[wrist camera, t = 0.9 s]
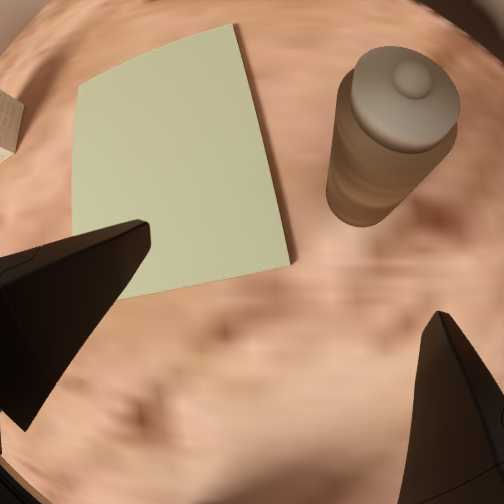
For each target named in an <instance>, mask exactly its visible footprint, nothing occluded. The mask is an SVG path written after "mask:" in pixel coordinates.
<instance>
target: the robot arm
mask: <svg viewBox="0 0 504 504" xmlns="http://www.w3.org/2000/svg"><path fill="white" fill-rule="evenodd" d="M150 248H151V231H150V224H149V223H148V222H147V221H143V220H140V219H135V220H131V221H127V222H124V223H120V224H116V225H112V226H108V227H105V228H101V229H97V230H94V231H90V232H86V233H83V234H79V235H76V236H72V237H69V238H65V239H62V240H58V241H55V242H52V243H48V244H45V245H42V247H41V246H38V247H35V248H32V249H29V250H25V251H22V252H19V253H15V254H11V255H7V256H4V257H0V413H1V412H2V411H3V412H4V413H5V414H6V415H7V416H8V417H9V418H10V419H11V420H12V421H13V422H15V423H16V424H17V425H18V426H19V427H20V428H21V429H22V430H23V431H24V432H26V431H27V429H28V428H29V426H30V425H31V423H32V421H33V420H34V418H35V417H36V415H37V413H38V412H39V410H40V409H41V407H42V405H43V404H44V402H45V401H46V399H47V398H48V396H49V394H50V393H51V391H52V390H53V388H54V387H55V385H56V383H57V382H58V381H59V379H60V378H61V376H62V375H63V373H64V372H65V370H66V369H67V367H68V366H69V364H70V363H71V361H72V360H73V359H74V357H75V356H76V354H77V353H78V351H79V350H80V349H81V347H82V346H83V344H84V343H85V342H86V340H87V339H88V337H89V336H90V335H91V333H92V332H93V330H94V329H95V328H96V326H97V325H98V324H99V322H100V321H101V320H102V318H103V317H104V316H105V314H106V313H107V312H108V310H109V309H110V308H111V306H112V305H113V304H114V302H115V301H116V300H117V298H118V297H119V296H120V295H121V293H122V292H123V291H124V289H125V288H126V287H127V285H128V284H129V282H130V281H131V279H132V278H133V276H134V274H135V273H136V271H137V270H138V268H139V266H140V265H141V263H142V262H143V260H144V259H145V257H146V256H147V254H148V253H149V251H150ZM1 454H2V447H1V432H0V504H52V503H51V502H50V501H49V500H48V499H46V498H45V497H44V496H43V495H42V494H40V493H39V492H38V491H37V490H36V489H35V488H34V487H32V486H31V485H30V484H29V483H28V482H27V481H26V480H25V479H24V478H23V477H22V476H20V475H19V474H18V473H17V472H16V471H15V470H14V469H13V468H12V467H11V466H10V465H9V464H8V463H7V462H6V461H5V460H4V458H3V457H2V456H1ZM397 504H504V394H503V393H502V391H501V389H500V388H499V386H498V384H497V383H496V381H495V380H494V378H493V376H492V375H491V373H490V372H489V370H488V369H487V367H486V366H485V364H484V362H483V361H482V359H481V358H480V356H479V355H478V353H477V352H476V351H475V349H474V348H473V346H472V345H471V343H470V342H469V340H468V339H467V338H466V336H465V335H464V333H463V332H462V331H461V329H460V328H459V326H458V325H457V324H456V322H455V321H454V320H453V318H452V317H451V316H450V314H448V313H445V312H442V311H436V312H435V313H434V315H433V316H432V318H431V319H430V321H429V323H428V324H427V326H426V327H425V329H424V330H423V333H422V336H421V344H420V352H419V359H418V366H417V372H416V379H415V388H414V401H413V412H412V422H411V430H410V438H409V445H408V452H407V458H406V464H405V470H404V475H403V480H402V485H401V490H400V494H399V499H398V503H397Z"/></svg>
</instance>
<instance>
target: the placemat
mask: <svg viewBox="0 0 504 504" xmlns="http://www.w3.org/2000/svg"><path fill="white" fill-rule="evenodd" d="M135 219H140V220H143V221H147V222H148V223H149V224H150V231H151V248H150V251H149V253H148V254H147V256H146V257H145V259H144V260H143V262H142V263H141V265H140V266H139V268H138V270H137V271H136V273H135V274H134V276H133V278H132V279H131V281H130V282H129V284H128V285H127V287H126V288H125V289H124V291H123V292H122V293H121V295H120V296H119V297H118V298H117V300H121V299H127V298H132V297H137V296H143V295H148V294H153V293H159V292H164V291H169V290H174V289H179V288H184V287H190V286H195V285H200V284H205V283H210V282H215V281H220V280H225V279H230V278H235V277H239V276H244V275H249V274H254V273H259V272H264V271H268V270H273V269H278V268H283V267H287V266H291V264H290V259H289V254H288V249H287V244H286V240H285V235H284V230H283V226H282V221H281V217H280V212H279V208H278V203H277V199H276V194H275V190H274V185H273V181H272V177H271V172H270V168H269V164H268V160H267V155H266V151H265V147H264V143H263V139H262V135H261V131H260V127H259V123H258V119H257V115H256V111H255V107H254V103H253V99H252V95H251V91H250V87H249V83H248V79H247V76H246V72H245V68H244V64H243V61H242V57H241V53H240V50H239V46H238V42H237V39H236V35H235V32H234V28H233V25H232V23H230V24H227V25H223V26H220V27H216V28H213V29H209V30H206V31H203V32H200V33H197V34H194V35H191V36H188V37H185V38H182V39H179V40H177V41H174V42H171V43H169V44H166V45H163V46H161V47H158V48H156V49H153V50H151V51H149V52H146V53H144V54H142V55H139V56H137V57H135V58H132V59H130V60H128V61H126V62H124V63H122V64H120V65H118V66H115V67H113V68H111V69H109V70H107V71H105V72H103V73H102V74H100V75H98V76H96V77H94V78H92V79H90V80H88V81H87V82H85V83H83V84H81V85H79V91H78V98H77V106H76V115H75V126H74V138H73V154H72V231H73V236H76V235H79V234H83V233H86V232H90V231H94V230H97V229H101V228H105V227H108V226H112V225H116V224H120V223H124V222H127V221H131V220H135Z"/></svg>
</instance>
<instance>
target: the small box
mask: <svg viewBox="0 0 504 504" xmlns="http://www.w3.org/2000/svg"><path fill="white" fill-rule="evenodd" d="M23 110H24V104H22V103H21V102H19V101H18V100H16V99H14V98H13V97H11V96H10V95H8V94H6V93H5V92H3V91H2V90H0V163H1V162H3V161H4V160H6V159H7V158H9V157H10V156H12V155H13V154H15V152H16V146H17V140H18V134H19V129H20V124H21V120H22V115H23Z"/></svg>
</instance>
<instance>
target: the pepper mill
mask: <svg viewBox="0 0 504 504" xmlns="http://www.w3.org/2000/svg"><path fill="white" fill-rule="evenodd" d="M459 113H460V100H459V95H458V92H457V89H456V87H455V85H454V83H453V82H452V80H451V79H450V77H449V76H448V75H447V73H446V72H445V71H444V70H443V69H442V68H441V67H440V66H439V65H438V64H436V63H435V62H434V61H432V60H431V59H429V58H428V57H426V56H424V55H423V54H421V53H418V52H416V51H413V50H410V49H407V48H403V47H396V46H385V47H379V48H375V49H373V50H370V51H368V52H367V53H365V54H364V55H363V56H362V57H361V58H360V59H359V60H358V62H357V64H356V66H355V68H354V69H352V70H351V71H350V72H349V73H348V74H347V75H346V76H345V77H344V78H343V80H342V82H341V84H340V86H339V89H338V94H337V103H336V113H335V122H334V131H333V139H332V148H331V156H330V163H329V171H328V178H327V185H326V197H327V201H328V204H329V206H330V208H331V210H332V212H333V213H334V214H335V215H336V216H337V217H338V218H339V219H340V220H341V221H343V222H345V223H346V224H349V225H351V226H355V227H369V226H373V225H375V224H377V223H379V222H380V221H382V220H383V219H384V218H385V217H386V216H387V215H388V214H389V213H390V212H391V211H392V210H393V209H394V208H395V207H396V206H397V205H398V204H399V203H400V202H401V201H402V200H403V199H404V198H405V197H406V196H407V195H408V194H409V193H410V192H411V191H412V190H413V189H414V188H415V187H416V186H417V185H418V184H419V183H420V182H421V181H422V180H423V179H424V178H425V177H426V176H427V175H428V174H429V173H430V172H431V171H432V170H433V169H434V168H435V167H436V166H437V165H438V164H439V163H440V161H441V160H442V159H443V158H444V157H445V156H446V155H447V154H448V153H449V151H450V150H451V149H452V147H453V145H454V143H455V139H456V135H457V119H458V117H459Z"/></svg>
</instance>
